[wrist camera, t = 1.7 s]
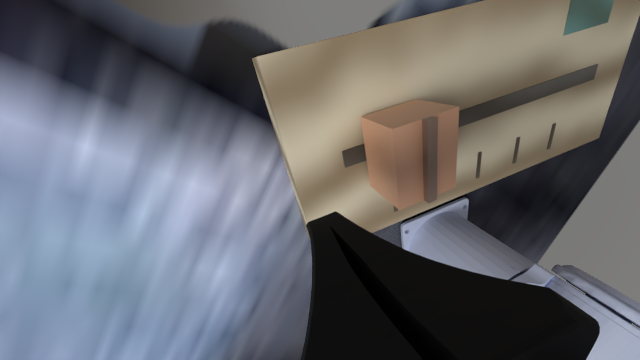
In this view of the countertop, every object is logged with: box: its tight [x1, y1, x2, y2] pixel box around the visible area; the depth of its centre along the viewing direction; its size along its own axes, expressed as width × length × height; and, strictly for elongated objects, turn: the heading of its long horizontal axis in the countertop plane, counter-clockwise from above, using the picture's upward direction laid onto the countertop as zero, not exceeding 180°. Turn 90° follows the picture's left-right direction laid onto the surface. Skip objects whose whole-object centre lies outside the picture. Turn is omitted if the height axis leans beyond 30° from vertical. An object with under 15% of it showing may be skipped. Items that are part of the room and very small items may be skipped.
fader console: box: [252, 0, 640, 239], centre depth 20 cm, size 14×30×3 cm, turn 103°
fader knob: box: [361, 99, 459, 210], centre depth 15 cm, size 5×4×4 cm
